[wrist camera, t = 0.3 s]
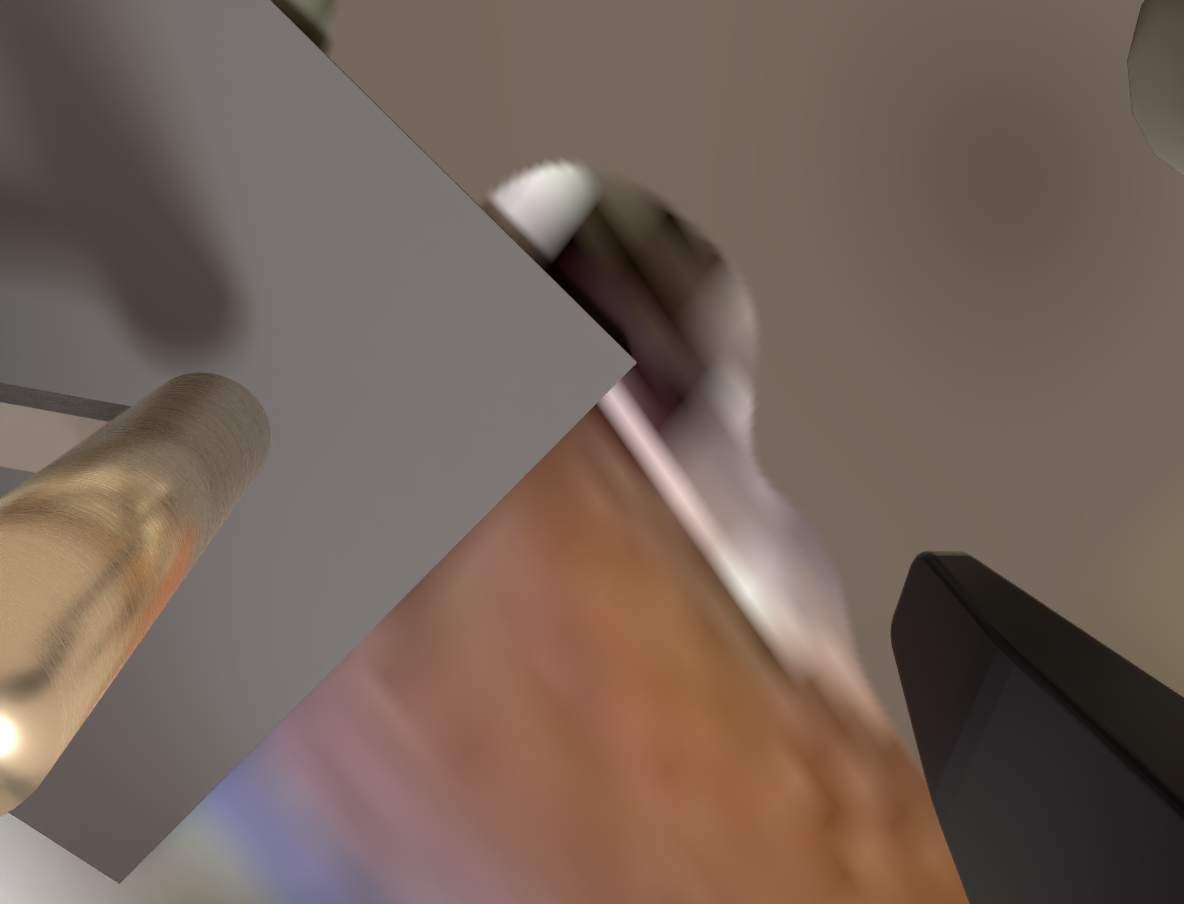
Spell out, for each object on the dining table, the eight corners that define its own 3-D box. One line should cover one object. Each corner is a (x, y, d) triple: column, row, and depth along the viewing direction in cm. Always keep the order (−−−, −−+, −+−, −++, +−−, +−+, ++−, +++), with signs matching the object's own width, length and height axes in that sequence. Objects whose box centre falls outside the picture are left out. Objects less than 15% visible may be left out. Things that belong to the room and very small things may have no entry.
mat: (127, 867, 26) (119, 883, 26) (-615, 384, 21) (-645, 391, 20) (633, 357, 24) (636, 362, 23) (-58, -325, 19) (-74, -340, 18)
